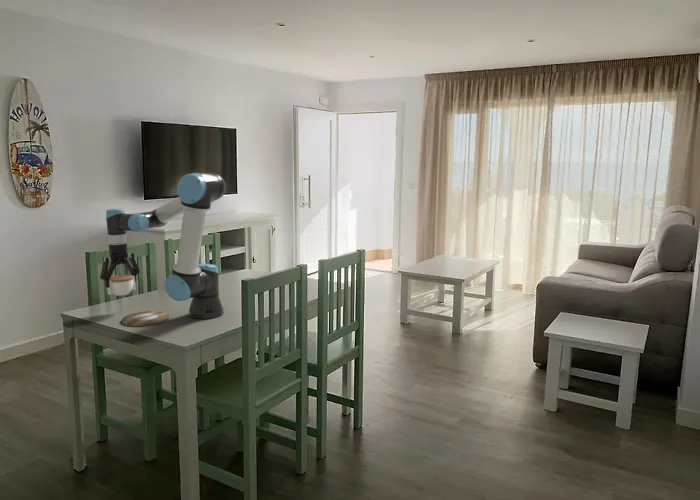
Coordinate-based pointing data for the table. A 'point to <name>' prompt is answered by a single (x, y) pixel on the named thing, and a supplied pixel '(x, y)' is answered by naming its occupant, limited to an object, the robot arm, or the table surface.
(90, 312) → the table surface
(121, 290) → the lidded jar
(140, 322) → the plate
